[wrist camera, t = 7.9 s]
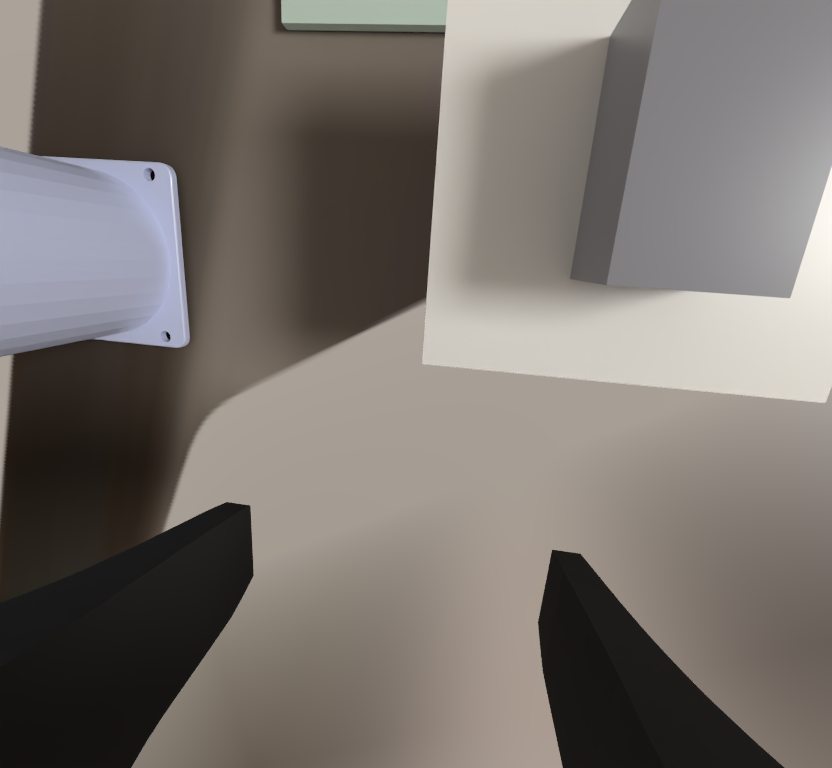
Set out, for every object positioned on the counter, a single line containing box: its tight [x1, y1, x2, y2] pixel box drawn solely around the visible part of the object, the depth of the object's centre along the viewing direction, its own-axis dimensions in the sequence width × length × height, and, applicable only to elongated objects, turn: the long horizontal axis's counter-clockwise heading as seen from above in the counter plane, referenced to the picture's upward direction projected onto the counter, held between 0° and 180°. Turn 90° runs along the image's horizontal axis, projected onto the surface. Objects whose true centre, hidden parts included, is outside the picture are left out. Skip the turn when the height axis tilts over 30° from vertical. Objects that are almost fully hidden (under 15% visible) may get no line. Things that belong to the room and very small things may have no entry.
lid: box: [422, 0, 832, 403], centre depth 8 cm, size 10×10×4 cm
